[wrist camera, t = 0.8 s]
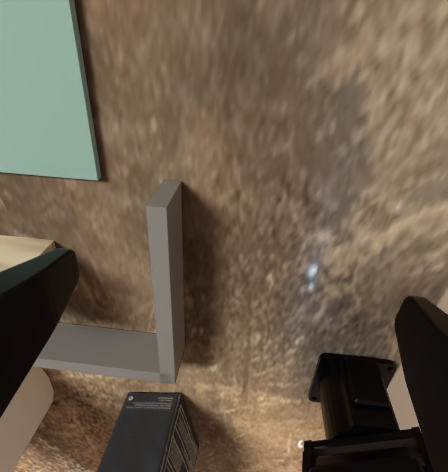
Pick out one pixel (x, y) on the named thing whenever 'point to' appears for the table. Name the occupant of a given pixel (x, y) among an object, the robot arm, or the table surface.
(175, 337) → the grey l-shaped bracket
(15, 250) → the cream block
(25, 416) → the cylinder
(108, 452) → the small box
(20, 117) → the teal mat
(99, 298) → the table surface
